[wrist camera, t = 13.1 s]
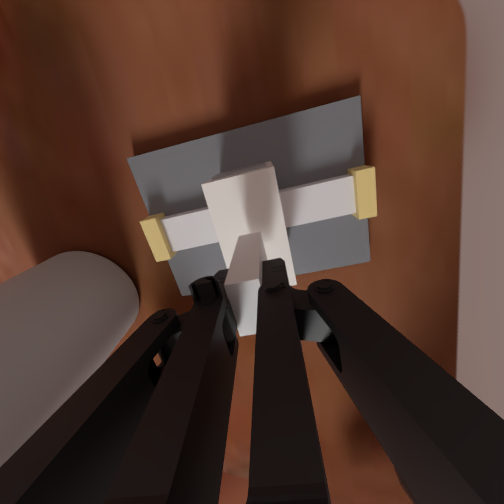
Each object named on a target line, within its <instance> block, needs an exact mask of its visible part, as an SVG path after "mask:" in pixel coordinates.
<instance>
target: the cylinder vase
mask: <svg viewBox="0 0 504 504" xmlns="http://www.w3.org/2000/svg"><path fill="white" fill-rule="evenodd" d="M138 311H139V297H138V293H137V290H136V287H135V285H134V283H133V282H132V280H131V279H130V277H129V276H128V275H127V274H126V273H125V272H124V271H123V270H122V269H121V268H120V267H119V266H118V265H116V264H115V263H113V262H112V261H110V260H108V259H107V258H105V257H102V256H100V255H97V254H94V253H90V252H84V251H70V252H64V253H61V254H58V255H56V256H53V257H52V258H50V259H48V260H46V261H44V262H42V263H40V264H38V265H36V266H34V267H32V268H30V269H28V270H26V271H24V272H22V273H21V274H19V275H17V276H15V277H13V278H11V279H9V280H7V281H5V282H3V283H1V284H0V467H1V466H2V465H3V464H4V463H5V462H6V461H7V460H8V459H9V458H10V457H11V456H12V455H13V454H14V453H15V452H16V451H17V450H18V449H19V448H20V447H21V446H22V445H23V444H24V443H25V442H26V441H27V440H28V439H29V438H30V437H31V436H32V435H33V434H34V433H35V432H36V431H37V430H38V429H39V428H40V427H41V426H42V425H43V424H44V423H45V422H46V421H47V420H48V419H49V418H50V417H51V416H52V415H53V414H54V412H55V411H56V410H57V409H58V408H59V407H60V406H61V405H62V404H63V403H64V402H65V401H66V400H67V399H68V398H69V397H70V396H71V395H72V394H73V393H74V392H75V391H76V390H77V389H78V388H79V387H80V386H81V385H82V384H83V383H84V382H85V381H86V380H87V379H88V378H89V377H90V376H91V375H92V374H93V373H94V372H95V371H96V370H97V369H98V368H99V367H100V366H101V365H102V364H103V363H104V362H105V360H106V359H107V358H108V356H109V355H110V354H111V352H112V351H113V350H114V348H115V347H116V345H117V344H118V343H119V341H120V340H121V339H122V337H123V336H124V335H125V333H126V332H127V331H128V329H129V328H130V327H131V325H132V324H133V323H134V321H135V319H136V317H137V315H138Z"/></svg>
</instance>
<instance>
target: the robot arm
mask: <svg viewBox="0 0 504 504" xmlns="http://www.w3.org/2000/svg"><path fill="white" fill-rule="evenodd" d="M188 287H189V289H190V292H191V295H192V297H193V300H194V305H193V307H192V309H191V311H189V312H186V313H183V314H181V315H177V312H176V310H174V309H171V308H168V309H162V310H159V311H157V312H156V313H154V314H153V315H151V316H150V317H149V318H148V319H147V320H146V321H145V322H144V323H143V324H142V325H141V326H140V327H139V328H138V329H137V330H136V331H135V332H134V333H133V334H132V335H131V336H130V337H129V338H128V339H127V340H126V341H125V342H124V343H123V344H122V345H121V346H120V347H119V348H118V349H117V350H116V351H115V352H114V353H113V354H112V355H111V356H110V357H109V358H108V359H107V360H106V361H105V362H104V363H103V364H102V365H101V366H100V367H99V368H98V369H97V370H96V371H95V372H94V373H93V374H92V375H91V376H90V377H89V378H88V379H87V380H86V381H85V382H84V383H83V384H82V385H81V386H80V387H79V388H78V389H77V390H76V391H75V392H74V393H73V394H72V395H71V396H70V397H69V398H68V399H67V400H66V401H65V402H64V403H63V404H62V405H61V406H60V407H59V408H58V409H57V410H56V411H55V412H54V414H53V415H52V416H51V417H50V418H49V419H48V420H47V421H46V422H45V423H44V424H43V425H42V426H41V427H40V428H39V429H38V430H37V431H36V432H35V433H34V434H33V435H32V436H31V437H30V438H29V439H28V440H27V441H26V442H25V443H24V444H23V445H22V446H21V447H20V448H19V449H18V450H17V451H16V452H15V453H14V454H13V455H12V456H11V457H10V458H9V459H8V460H7V461H6V462H5V463H4V464H3V465H2V466H1V467H0V504H218V501H219V494H220V486H221V478H222V471H223V463H224V455H225V447H226V439H227V432H228V424H229V416H230V408H231V400H232V393H233V385H234V377H235V369H236V361H237V354H238V346H239V343H238V339H237V336H236V331H237V329H238V332H239V335H240V336H245V335H252V334H256V344H255V365H254V385H253V406H252V427H251V447H250V468H249V488H248V498H247V502H246V504H331V500H330V495H329V490H328V484H327V479H326V474H325V468H324V463H323V458H322V453H321V447H320V442H319V437H318V431H317V426H316V421H315V415H314V410H313V405H312V400H311V394H310V389H309V384H308V378H307V373H306V368H305V362H304V357H303V352H302V346H301V341H300V340H305V341H315V342H317V345H318V347H319V349H320V351H321V352H322V354H323V355H324V357H325V358H326V360H327V361H328V363H329V365H330V366H331V368H332V369H333V371H334V372H335V374H336V376H337V377H338V379H339V380H340V382H341V383H342V385H343V386H344V388H345V390H346V391H347V393H348V394H349V396H350V397H351V399H352V401H353V402H354V404H355V405H356V407H357V408H358V410H359V411H360V413H361V415H362V416H363V418H364V419H365V421H366V422H367V424H368V426H369V427H370V429H371V430H372V432H373V433H374V435H375V436H376V438H377V440H378V441H379V443H380V444H381V446H382V447H383V449H384V451H385V452H386V454H387V455H388V457H389V458H390V460H391V461H392V463H393V465H394V468H395V472H396V474H397V477H398V479H399V481H400V484H401V486H402V488H403V489H404V491H405V492H406V494H407V495H408V496H409V498H410V499H411V501H412V502H413V504H504V420H503V419H502V418H501V417H500V416H498V415H497V414H496V413H495V412H494V411H493V410H491V409H490V408H489V407H488V406H487V405H485V404H484V403H483V402H482V401H481V400H479V399H478V398H477V397H476V396H475V395H473V394H472V393H471V392H470V391H469V390H468V389H466V388H465V387H464V386H463V385H462V384H460V383H459V382H458V381H457V380H456V379H454V378H453V377H452V376H451V375H450V374H448V373H447V372H446V371H445V370H444V369H443V368H441V367H440V366H439V365H438V364H437V363H435V362H434V361H433V360H432V359H431V358H429V357H428V356H427V355H426V354H425V353H423V352H422V351H421V350H420V349H419V348H418V347H416V346H415V345H414V344H413V343H412V342H410V341H409V340H408V339H407V338H406V337H404V336H403V335H402V334H401V333H400V332H398V331H397V330H396V329H395V328H394V327H393V326H391V325H390V324H389V323H388V322H387V321H385V320H384V319H383V318H382V317H381V316H379V315H378V314H377V313H376V312H375V311H373V310H372V309H371V308H370V307H369V306H368V305H366V304H365V303H364V302H363V301H362V300H360V299H359V298H358V297H357V296H356V295H354V294H353V293H352V292H351V291H350V290H348V289H347V288H346V287H345V286H344V285H343V284H341V283H340V282H338V281H336V280H331V279H322V280H318V281H315V282H313V283H311V284H310V285H309V286H308V289H307V290H297V289H294V288H292V287H291V286H290V285H289V280H288V275H287V270H286V265H285V261H284V260H283V259H281V258H276V259H271V260H267V256H266V252H265V248H264V243H263V239H262V235H261V231H260V232H255V233H250V234H246V235H241V236H239V237H238V240H237V244H236V247H235V250H234V253H233V257H232V260H231V263H230V267H229V269H224V270H219V271H218V272H217V273H216V274H215V275H214V276H206V277H202V278H199V279H197V280H195V281H194V282H192V283H191V284H190V285H189V286H188ZM157 353H158V354H159V356H160V358H161V360H162V362H161V363H160V365H158V366H156V364H155V362H154V360H153V358H154V357H155V356H156V354H157Z"/></svg>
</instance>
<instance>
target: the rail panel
mask: <svg viewBox="0 0 504 504" xmlns="http://www.w3.org/2000/svg"><path fill="white" fill-rule="evenodd" d="M127 161H128V163H129V166H130V168H131V171H132V173H133V176H134V178H135V181H136V183H137V186H138V188H139V191H140V193H141V196H142V198H143V200H144V203H145V205H146V208H147V210H148V213H149V215H150V216H148V217H147V218H145V219H143V220H142V221H140V224H141V226H142V229H143V231H144V233H145V236H146V238H147V240H148V243H149V245H150V248H151V250H152V252H153V255H154V257H155V259H156V262H159V261H164V260H168V262H169V265H170V267H171V270H172V272H173V275H174V277H175V280H176V282H177V285H178V287H179V290H180V292H181V295H182V296H187V295H191V292H190V289H189V287H188V286H189V285H190V284H191V283H192V282H194V281H195V280H197V279H199V278H202V277H206V276H214V275H215V274H216V273H217V272H218V271H219V270H224V269H227V267H226V264H225V260H224V257H223V254H222V251H221V248H220V244H219V241H218V238H217V235H216V231H215V228H214V225H213V222H212V218H211V215H210V212H209V209H208V205H207V202H206V199H205V196H204V192H203V189H202V186H201V184H203V183H205V182H206V181H208V180H210V179H212V177H213V176H215V175H217V174H219V173H223V172H227V171H231V170H235V169H239V168H243V167H247V166H251V165H255V164H259V163H263V162H268V161H271V163H272V164H273V166H274V169H275V175H276V180H277V185H278V190H279V195H280V200H281V205H282V211H283V216H284V221H285V226H286V231H287V236H288V242H289V247H290V252H291V257H292V262H293V267H294V273H295V275H299V274H305V273H310V272H315V271H321V270H326V269H331V268H337V267H342V266H347V265H353V264H358V263H363V262H369V261H370V247H369V231H368V218H370V217H375V216H377V203H376V181H375V167H373V166H367V165H365V164H364V147H363V130H362V113H361V97H360V95H359V96H355V97H352V98H348V99H344V100H341V101H337V102H333V103H330V104H326V105H322V106H319V107H315V108H311V109H307V110H304V111H300V112H296V113H293V114H289V115H285V116H282V117H278V118H274V119H271V120H267V121H263V122H259V123H256V124H252V125H248V126H245V127H241V128H237V129H234V130H230V131H226V132H223V133H219V134H215V135H211V136H208V137H204V138H200V139H197V140H193V141H189V142H186V143H182V144H178V145H175V146H171V147H167V148H163V149H160V150H156V151H152V152H149V153H145V154H141V155H138V156H134V157H130V158H127Z"/></svg>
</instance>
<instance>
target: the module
mask: <svg viewBox="0 0 504 504" xmlns="http://www.w3.org/2000/svg"><path fill="white" fill-rule="evenodd" d="M201 186H202V189H203V192H204V196H205V199H206V202H207V205H208V209H209V212H210V215H211V218H212V222H213V225H214V228H215V231H216V235H217V238H218V241H219V244H220V248H221V251H222V254H223V257H224V260H225V264H226V267H227V269H229V267H230V263H231V260H232V257H233V253H234V250H235V247H236V244H237V240H238V237H239V236H241V235H246V234H250V233H255V232H260V231H261V235H262V239H263V243H264V248H265V252H266V256H267V260H271V259H276V258H281V259H283V260H284V261H285V265H286V270H287V275H288V280H289V285H290V286H292V285H297V283H296V278H295V273H294V267H293V262H292V257H291V252H290V247H289V242H288V236H287V231H286V226H285V221H284V216H283V211H282V205H281V200H280V195H279V190H278V185H277V180H276V175H275V169H274V166H273V164H272V163H271V161H268V162H263V163H259V164H255V165H251V166H247V167H243V168H239V169H235V170H231V171H227V172H223V173H219V174H217V175H215V176H213V177H212V179H210V180H208V181H206V182H205V183H203V184H201Z"/></svg>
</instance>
